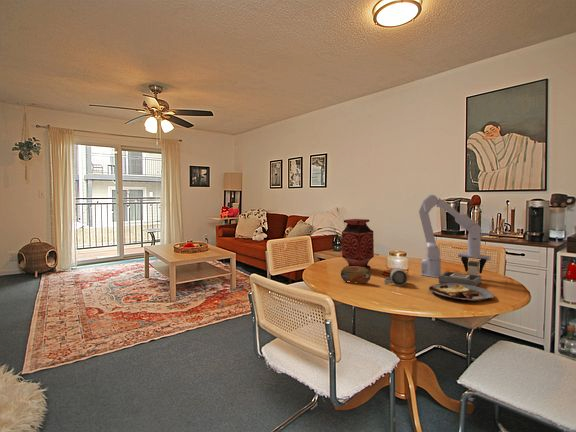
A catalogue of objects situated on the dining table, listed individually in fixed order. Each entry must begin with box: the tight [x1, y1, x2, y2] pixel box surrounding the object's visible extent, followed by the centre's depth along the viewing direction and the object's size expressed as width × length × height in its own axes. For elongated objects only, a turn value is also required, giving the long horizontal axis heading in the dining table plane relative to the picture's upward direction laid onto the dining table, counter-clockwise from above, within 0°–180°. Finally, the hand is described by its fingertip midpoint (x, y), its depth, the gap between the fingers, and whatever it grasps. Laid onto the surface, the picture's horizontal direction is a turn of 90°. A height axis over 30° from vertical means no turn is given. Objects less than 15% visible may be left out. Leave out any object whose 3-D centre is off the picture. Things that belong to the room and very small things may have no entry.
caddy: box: [438, 271, 482, 287], centre depth 158 cm, size 16×12×4 cm
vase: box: [341, 218, 375, 270], centre depth 192 cm, size 14×14×30 cm
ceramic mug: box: [383, 268, 409, 287], centre depth 159 cm, size 11×8×8 cm
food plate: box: [428, 283, 495, 302], centre depth 140 cm, size 25×23×4 cm
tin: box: [340, 265, 372, 284], centre depth 163 cm, size 15×3×8 cm, turn 65°
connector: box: [467, 260, 480, 276], centre depth 166 cm, size 4×4×9 cm
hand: (473, 272), depth 166 cm, fingers open, 6 cm apart
